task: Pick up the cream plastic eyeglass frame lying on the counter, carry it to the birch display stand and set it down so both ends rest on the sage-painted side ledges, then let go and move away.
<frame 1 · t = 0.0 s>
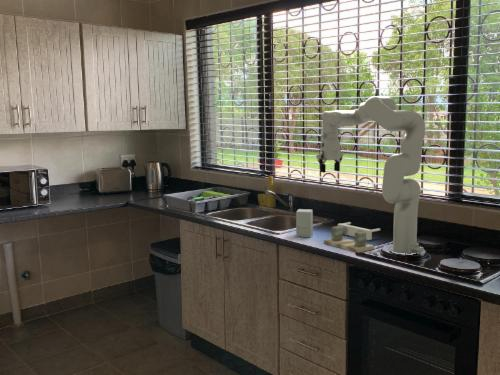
hand: (329, 171, 246), 31 cm above the worktop, tool pointing down, fingers open, 9 cm apart
glasses: (354, 236, 244), on the worktop
display stand: (348, 246, 225), on the worktop
supplement box: (304, 235, 247), on the worktop
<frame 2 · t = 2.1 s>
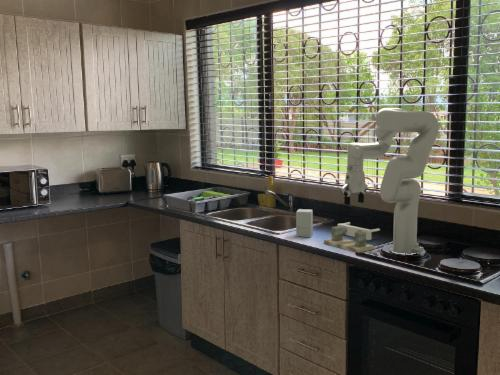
hand: (354, 203, 243), 16 cm above the worktop, tool pointing down, fingers open, 9 cm apart
nothing on the worktop moved.
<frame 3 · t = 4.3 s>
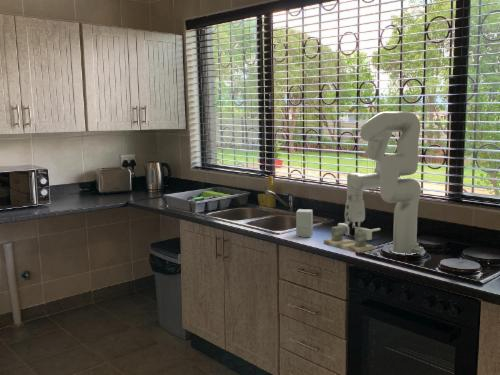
hand: (354, 234, 244), 1 cm above the worktop, tool pointing down, fingers closed on glasses, 2 cm apart
glasses: (354, 236, 244), on the worktop, touching gripper
everything else where it was.
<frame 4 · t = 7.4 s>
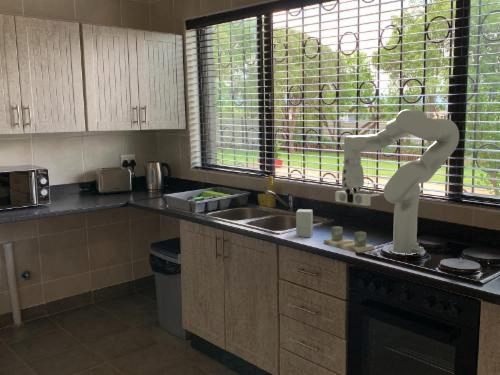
hand: (352, 201, 231), 19 cm above the worktop, tool pointing down, fingers closed on glasses
glasses: (352, 203, 231), point 18 cm above the worktop, touching gripper
everything else where it was.
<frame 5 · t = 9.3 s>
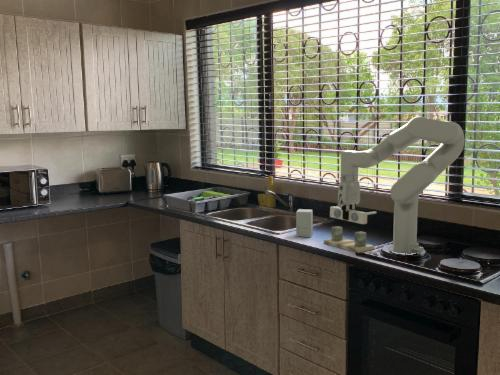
hand: (348, 218, 223), 12 cm above the worktop, tool pointing down, fingers closed on glasses
glasses: (347, 220, 224), point 12 cm above the worktop, touching gripper
everything else where it was.
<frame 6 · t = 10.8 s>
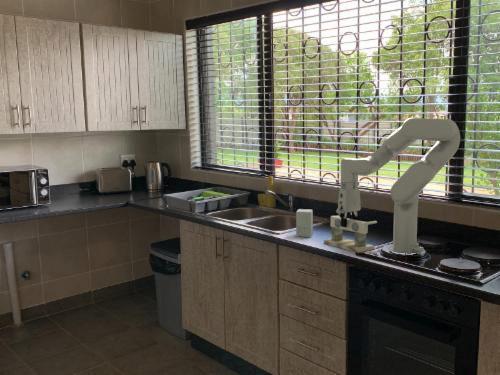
hand: (348, 225, 224), 9 cm above the worktop, tool pointing down, fingers open, 5 cm apart
glasses: (348, 229, 224), point 7 cm above the worktop, touching display stand
everything else where it was.
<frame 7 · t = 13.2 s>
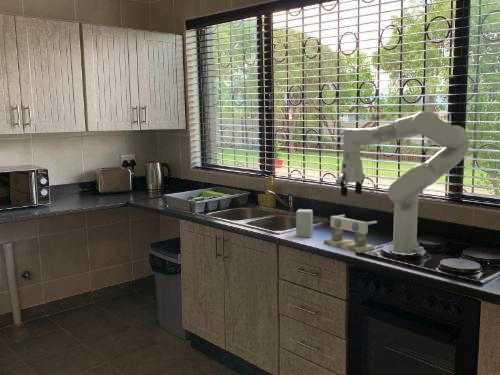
hand: (351, 194, 224), 23 cm above the worktop, tool pointing down, fingers open, 9 cm apart
nothing on the worktop moved.
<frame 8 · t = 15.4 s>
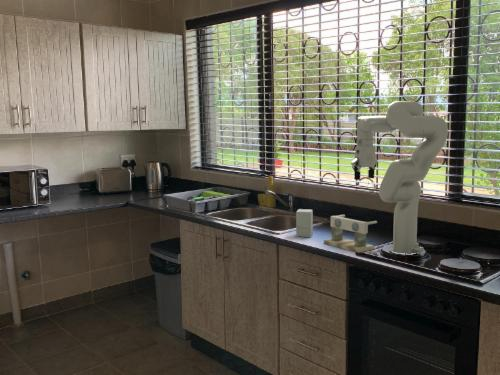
hand: (364, 178, 239), 28 cm above the worktop, tool pointing down, fingers open, 9 cm apart
nothing on the worktop moved.
at the end: glasses 0.0 cm off-centre on the display stand, point 7.5 cm above the display stand's base; glasses tilted 0°; the gripper is holding nothing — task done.
